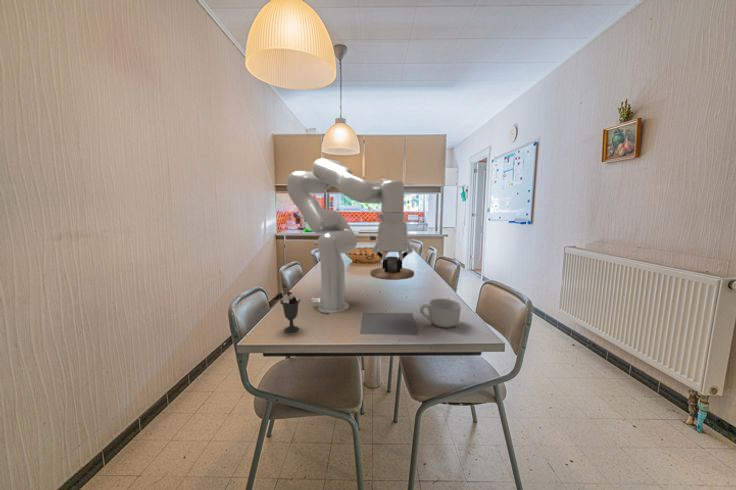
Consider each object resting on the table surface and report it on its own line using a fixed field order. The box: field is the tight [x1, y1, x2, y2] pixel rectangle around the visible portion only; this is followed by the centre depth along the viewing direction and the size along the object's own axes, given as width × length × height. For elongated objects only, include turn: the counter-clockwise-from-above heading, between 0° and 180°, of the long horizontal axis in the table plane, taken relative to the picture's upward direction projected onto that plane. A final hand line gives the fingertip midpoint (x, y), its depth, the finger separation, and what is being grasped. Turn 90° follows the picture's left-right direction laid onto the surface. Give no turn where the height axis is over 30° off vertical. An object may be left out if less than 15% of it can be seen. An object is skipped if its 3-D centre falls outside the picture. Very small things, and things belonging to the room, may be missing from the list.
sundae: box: [279, 285, 302, 334], centre depth 96 cm, size 7×7×15 cm
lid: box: [370, 256, 415, 281], centre depth 99 cm, size 15×15×6 cm
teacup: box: [419, 297, 462, 329], centre depth 101 cm, size 14×11×8 cm
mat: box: [359, 311, 420, 336], centre depth 102 cm, size 19×19×1 cm
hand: (392, 270), depth 99 cm, fingers closed on lid, 4 cm apart
